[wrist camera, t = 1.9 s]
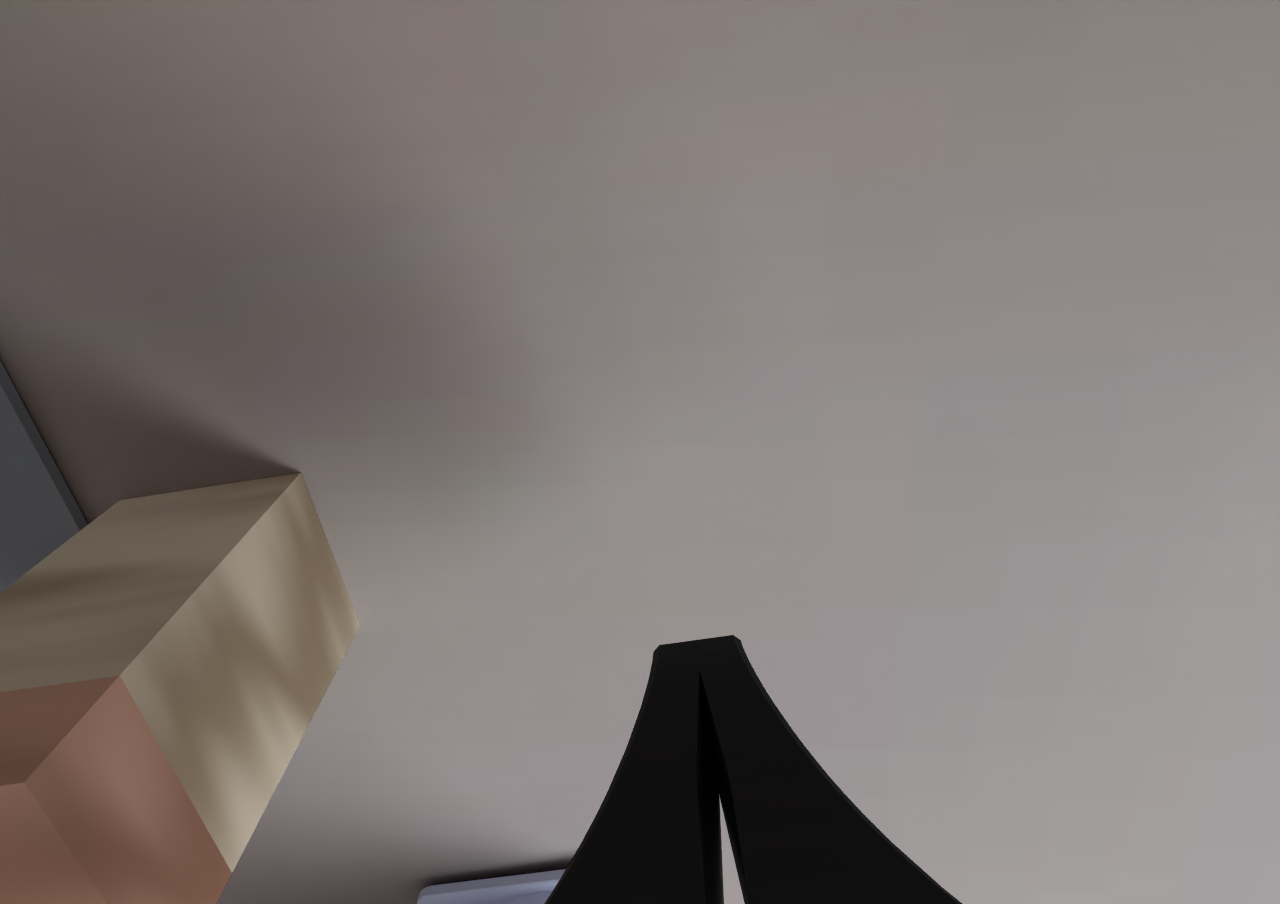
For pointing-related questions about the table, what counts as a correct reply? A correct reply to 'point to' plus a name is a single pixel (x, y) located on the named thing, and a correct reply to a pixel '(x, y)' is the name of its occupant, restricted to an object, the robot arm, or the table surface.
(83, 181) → the table surface
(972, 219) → the table surface
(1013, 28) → the table surface
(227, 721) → the tall block
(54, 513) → the mat
